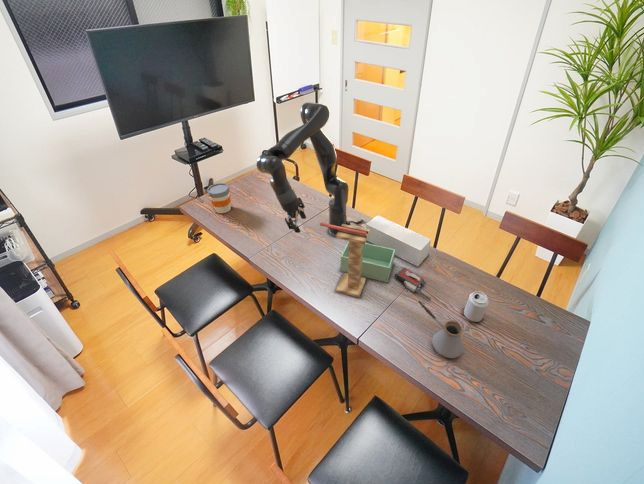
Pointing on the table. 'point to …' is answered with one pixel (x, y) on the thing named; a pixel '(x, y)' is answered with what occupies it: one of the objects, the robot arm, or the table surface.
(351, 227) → the stand
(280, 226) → the table surface
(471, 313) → the can
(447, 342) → the coffee pot
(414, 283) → the walkie-talkie
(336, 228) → the straw
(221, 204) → the reusable coffee cup
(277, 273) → the table surface
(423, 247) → the stack of papers
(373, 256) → the bin
